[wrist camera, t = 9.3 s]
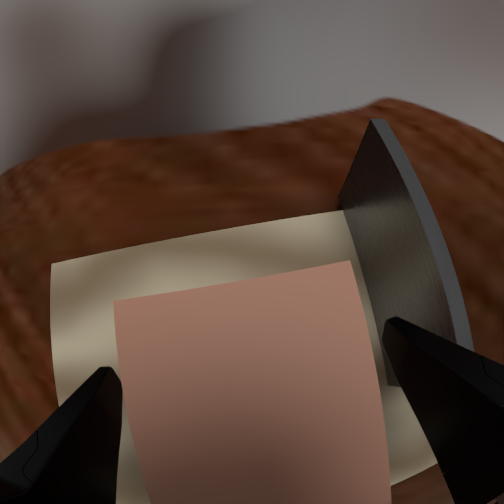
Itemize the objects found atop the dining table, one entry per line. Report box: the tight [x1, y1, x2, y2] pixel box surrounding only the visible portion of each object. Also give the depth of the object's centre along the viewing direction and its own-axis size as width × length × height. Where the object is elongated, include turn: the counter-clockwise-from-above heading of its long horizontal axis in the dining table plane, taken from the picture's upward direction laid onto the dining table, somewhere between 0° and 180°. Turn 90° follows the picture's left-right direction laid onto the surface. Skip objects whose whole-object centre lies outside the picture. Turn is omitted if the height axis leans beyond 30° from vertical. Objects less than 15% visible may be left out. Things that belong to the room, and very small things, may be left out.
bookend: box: [338, 119, 474, 387], centre depth 12 cm, size 12×3×7 cm, turn 10°
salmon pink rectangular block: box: [113, 260, 391, 504], centre depth 9 cm, size 6×5×10 cm
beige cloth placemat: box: [50, 210, 438, 504], centre depth 14 cm, size 18×24×1 cm
